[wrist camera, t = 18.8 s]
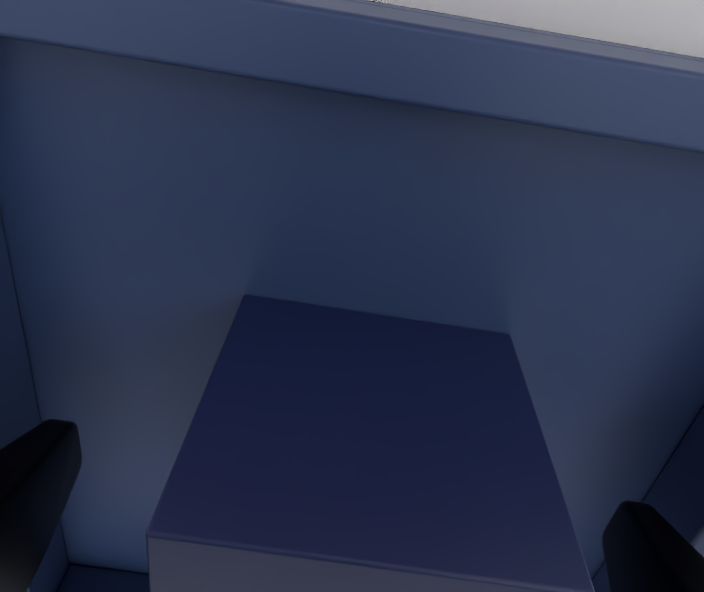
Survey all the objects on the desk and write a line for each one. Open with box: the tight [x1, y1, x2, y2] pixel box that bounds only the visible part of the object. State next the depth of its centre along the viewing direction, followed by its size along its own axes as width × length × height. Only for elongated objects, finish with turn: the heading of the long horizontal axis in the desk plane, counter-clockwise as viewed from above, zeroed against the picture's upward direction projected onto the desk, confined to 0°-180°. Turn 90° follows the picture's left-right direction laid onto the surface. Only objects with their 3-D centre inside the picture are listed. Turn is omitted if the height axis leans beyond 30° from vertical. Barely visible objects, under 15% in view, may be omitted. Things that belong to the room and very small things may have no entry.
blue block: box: [146, 295, 595, 592], centre depth 9 cm, size 4×4×4 cm
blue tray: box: [0, 0, 704, 592], centre depth 10 cm, size 14×14×2 cm
